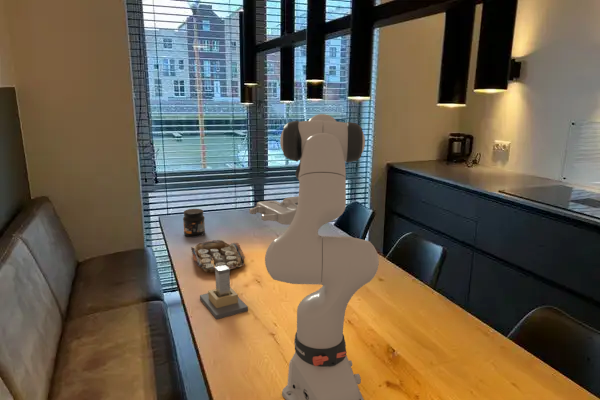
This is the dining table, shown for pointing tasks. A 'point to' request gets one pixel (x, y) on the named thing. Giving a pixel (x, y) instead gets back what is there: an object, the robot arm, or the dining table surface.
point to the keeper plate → (223, 304)
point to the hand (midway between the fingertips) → (256, 214)
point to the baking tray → (217, 255)
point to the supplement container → (194, 222)
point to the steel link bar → (222, 281)
